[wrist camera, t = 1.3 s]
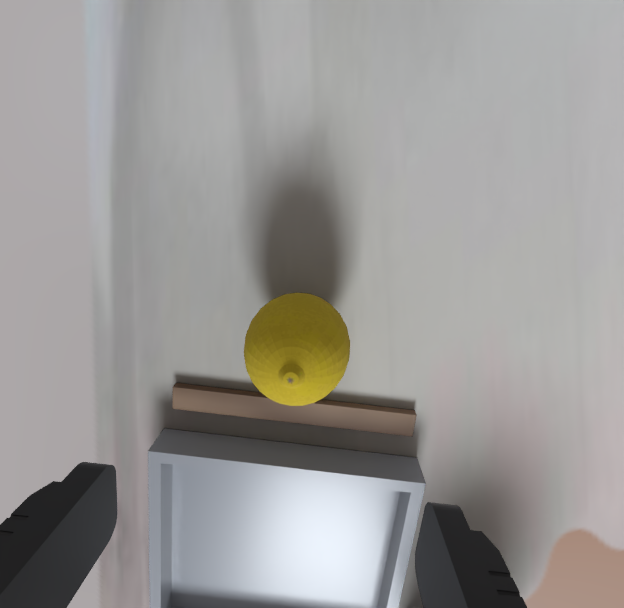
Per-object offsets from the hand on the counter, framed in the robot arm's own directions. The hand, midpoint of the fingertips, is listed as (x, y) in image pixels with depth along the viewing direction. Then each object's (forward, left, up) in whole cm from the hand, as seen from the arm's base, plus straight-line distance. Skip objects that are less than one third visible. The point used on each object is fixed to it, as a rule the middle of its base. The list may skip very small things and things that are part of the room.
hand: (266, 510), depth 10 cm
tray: (+17, 0, -15) cm, 23 cm away
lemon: (0, 0, -15) cm, 15 cm away
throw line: (+6, 0, -15) cm, 16 cm away
